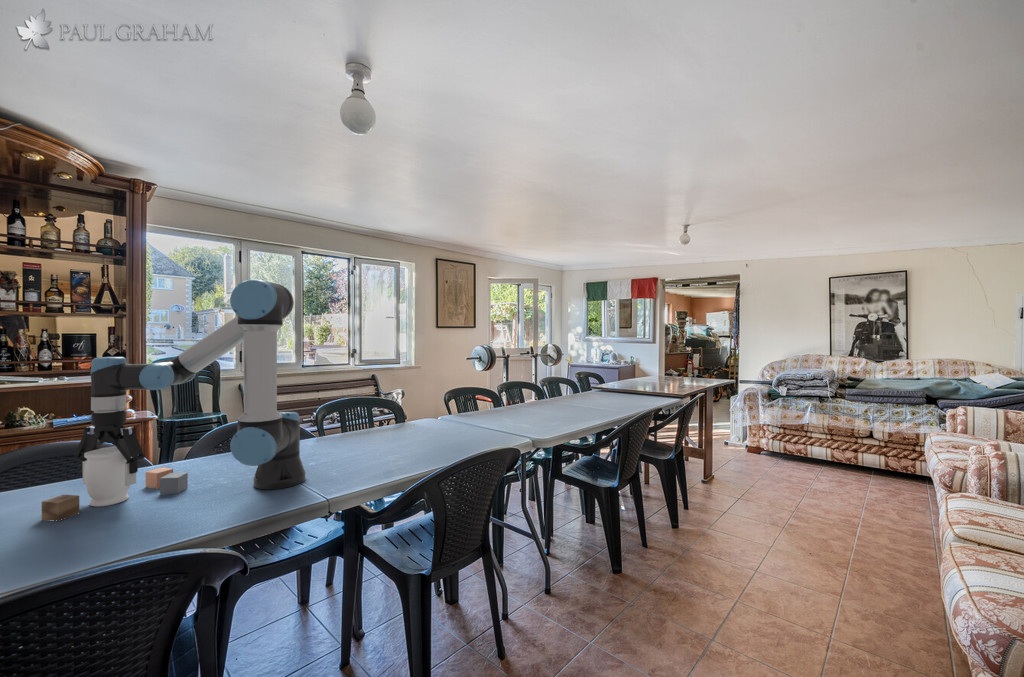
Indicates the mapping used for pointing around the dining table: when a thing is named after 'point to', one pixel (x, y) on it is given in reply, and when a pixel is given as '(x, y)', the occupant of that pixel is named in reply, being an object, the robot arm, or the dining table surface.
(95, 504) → the jar
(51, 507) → the walnut block
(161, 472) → the terracotta block
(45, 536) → the dining table surface
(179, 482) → the grey block
